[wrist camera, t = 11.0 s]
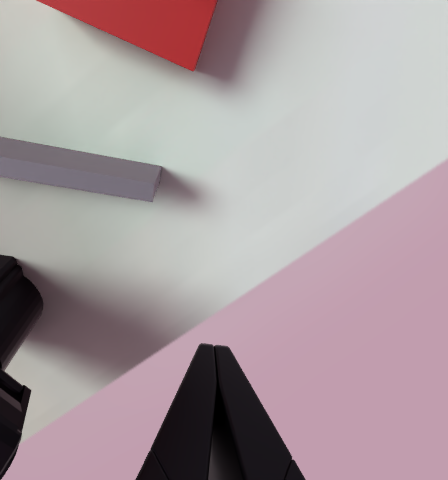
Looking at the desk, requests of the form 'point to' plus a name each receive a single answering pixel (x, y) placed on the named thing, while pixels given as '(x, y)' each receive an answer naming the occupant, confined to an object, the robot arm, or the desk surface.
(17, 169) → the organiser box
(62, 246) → the desk surface
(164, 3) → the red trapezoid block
